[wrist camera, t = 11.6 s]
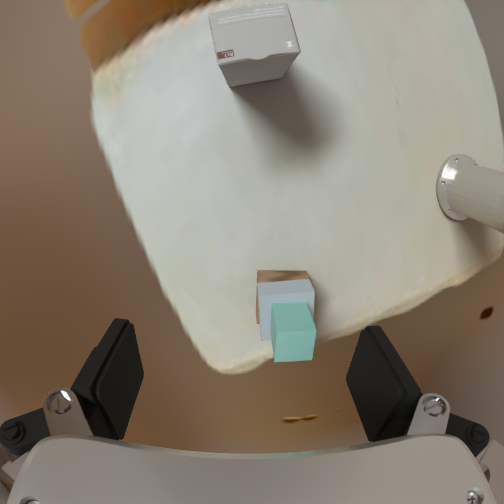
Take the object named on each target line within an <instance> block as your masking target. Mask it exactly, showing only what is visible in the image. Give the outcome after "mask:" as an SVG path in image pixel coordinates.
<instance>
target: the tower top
mask: <svg viewBox="0 0 504 504" xmlns="http://www.w3.org/2000/svg"><path fill="white" fill-rule="evenodd" d="M257 289H258V305H259V320H260V332H261V341H263V340H271V333H270V326H271V303H292V302H306V303H307V306H308V309H309V311H310V314H311V316H312V319H314V298H315V291H314V288H313V286H312V284H311V282H310V280H309V279H301V280H289V281H277V282H264V283H257Z"/></svg>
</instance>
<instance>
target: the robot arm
mask: <svg viewBox="0 0 504 504" xmlns="http://www.w3.org/2000/svg"><path fill="white" fill-rule="evenodd" d="M437 195H438V200H439V204H440V206H441V208H442V210H443V211H444V213H445V214H446V215H447V216H449V217H450V218H452V219H455V220H465V219H467V218H469V217H470V218H472V219H474V220H476V221H478V222H480V223H482V224H485V225H487V226H489V227H491V228H493V229H495V230H497V231H499V232H501V233H503V234H504V172H502V171H498V170H494V169H490V168H486V167H481V166H478V164H477V163H476V162H475V160H474V159H472V158H471V157H469V156H467V155H463V154H457V155H453V156H452V157H450V158H449V159H448V160H447V161H446V162H445V163H444V165H443V166H442V168H441V170H440V173H439V176H438V182H437ZM143 376H144V371H143V367H142V363H141V358H140V354H139V350H138V345H137V340H136V335H135V330H134V325H133V324H131V323H130V322H129V320H127V319H118V318H115V319H114V320H113V322H112V323H111V325H110V327H109V328H108V330H107V331H106V333H105V335H104V336H103V338H102V340H101V342H100V343H99V345H98V346H97V347H95V348H94V349H93V351H92V352H91V354H90V355H89V357H88V359H87V361H86V362H85V364H84V366H83V368H82V369H81V371H80V373H79V374H78V376H77V378H76V380H75V382H74V383H73V385H72V387H71V389H70V390H69V389H66V388H58V389H54V390H52V391H50V392H49V393H48V394H47V395H46V396H45V398H44V400H43V408H40V409H38V410H35V411H32V412H30V413H27V414H24V415H21V416H18V417H15V418H12V419H9V420H7V421H5V422H4V423H3V424H2V425H1V427H0V504H504V447H503V446H502V445H500V444H499V443H498V442H496V441H495V440H492V441H489V433H488V431H487V430H486V428H484V427H483V426H482V425H480V424H477V423H475V422H472V421H470V420H467V419H464V418H462V417H459V416H456V415H454V414H451V413H450V406H449V403H448V402H447V400H446V399H445V398H443V397H442V396H440V395H438V394H434V393H428V394H425V395H422V393H421V392H420V391H421V390H420V388H419V387H418V385H417V383H416V382H415V380H414V379H413V377H412V375H411V374H410V372H409V370H408V369H407V367H406V366H405V364H404V362H403V361H402V359H401V358H400V356H399V354H398V353H397V351H396V350H395V348H394V347H393V345H392V344H391V342H390V340H389V339H388V337H387V336H386V334H385V333H384V331H383V330H382V328H381V327H380V326H367V327H366V328H365V329H364V330H362V331H361V333H360V337H359V340H358V343H357V346H356V349H355V352H354V355H353V358H352V361H351V364H350V367H349V370H348V373H347V376H346V381H347V385H348V387H349V390H350V392H351V395H352V397H353V400H354V403H355V406H356V408H357V411H358V414H359V416H360V419H361V422H362V424H363V427H364V430H365V433H366V435H367V438H368V440H369V441H370V442H371V441H372V442H371V443H365V444H360V445H353V446H347V447H341V448H333V449H325V450H316V451H307V452H293V453H275V454H227V453H226V454H225V453H207V452H194V451H184V450H175V449H167V448H160V447H154V446H147V445H141V444H135V443H129V442H124V441H119V439H121V440H122V439H123V438H124V435H125V432H126V429H127V425H128V422H129V419H130V416H131V413H132V410H133V407H134V404H135V401H136V398H137V395H138V392H139V389H140V386H141V383H142V380H143Z"/></svg>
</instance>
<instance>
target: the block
mask: <svg viewBox="0 0 504 504" xmlns="http://www.w3.org/2000/svg"><path fill="white" fill-rule="evenodd" d="M316 331H317V330H316V327H315V324H314V322H313V319H312V316H311V314H310V311H309V309H308V306H307V303H306V302H292V303H271V326H270V333H271V340H272V347H273V353H274V360H275V362H286V361H302V360H312V357H313V350H314V344H315V338H316Z"/></svg>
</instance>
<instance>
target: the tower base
mask: <svg viewBox="0 0 504 504" xmlns="http://www.w3.org/2000/svg"><path fill="white" fill-rule="evenodd" d="M301 279H309V277H308V275H307V272H306V271H271V270H257V283H264V282H277V281H289V280H301ZM309 280H310V279H309ZM256 318H257V324H260V320H259V305H258V289H257V296H256Z"/></svg>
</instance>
